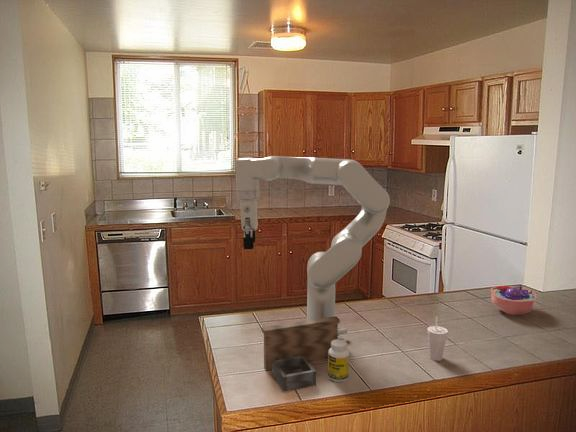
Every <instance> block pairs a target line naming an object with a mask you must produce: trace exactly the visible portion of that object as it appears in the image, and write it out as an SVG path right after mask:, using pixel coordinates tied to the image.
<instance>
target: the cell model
mask: <svg viewBox="0 0 576 432" xmlns="http://www.w3.org/2000/svg"><path fill="white" fill-rule="evenodd" d="M490 296H491V297H490V299H491V302H492V304H493V305H494V307H495V308H497V309H498V310H500V311H502V312H503V313H505V314H508V315H510V316H511V315H512V316H517V315H518V316H519V315H525V314H529V313H530V312H531V311H533V309H534V308H535V304H536V300H537V298H538V295H537V294H536V293H535V292H534V291H533V290H530V289H528V288H525V287H523V286H522V285H497V286H496V285H495V286H494V287H491V288H490Z"/></svg>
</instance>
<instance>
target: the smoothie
mask: <svg viewBox="0 0 576 432" xmlns="http://www.w3.org/2000/svg"><path fill="white" fill-rule="evenodd" d="M438 319H439V318H438V316H435V325H431V326H428V327H427V331H426V333H427V336H428V347H429V348H428V349H429V350H428V351H429V358H430V359H431V360H433V361H438V362H440V361H441V360H443V355H444V350H445V345H446V340H447V337H448V335H449V330H448V329H447V328H445V327H443V326H439V325H438Z"/></svg>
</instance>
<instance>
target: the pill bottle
mask: <svg viewBox="0 0 576 432" xmlns="http://www.w3.org/2000/svg"><path fill="white" fill-rule="evenodd" d="M349 367H350V351H349V349H348V342H347V341H346V340H343V339H336V340H333V341H332V342H331V348H330V349H329V352H328V360H327V377H328V379H329V380H331V381H333V382H334V383H335V382H336V383H342V382H343V383H344V382H345V381H347V380H348V379H349V376H350V374H349V372H350V368H349Z"/></svg>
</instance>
